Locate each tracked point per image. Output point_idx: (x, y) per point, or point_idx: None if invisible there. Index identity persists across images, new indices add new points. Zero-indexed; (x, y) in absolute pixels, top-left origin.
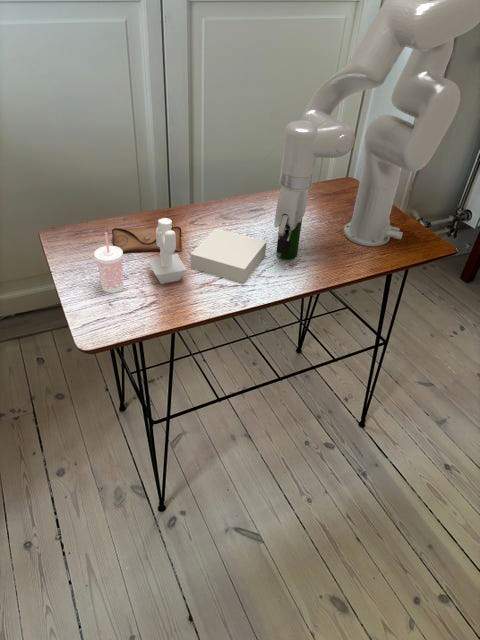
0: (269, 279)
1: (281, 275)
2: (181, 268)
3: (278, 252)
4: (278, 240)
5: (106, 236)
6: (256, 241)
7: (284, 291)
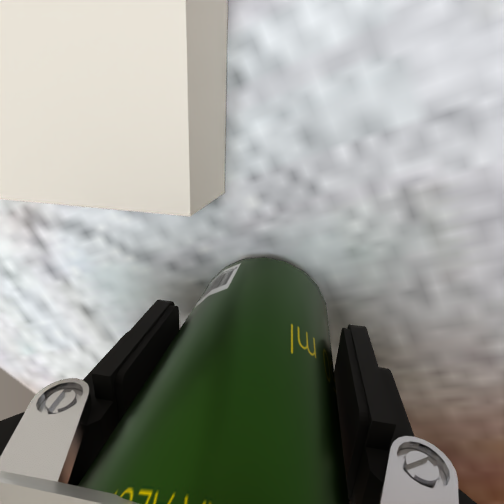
0: (38, 274)
1: (97, 315)
2: None
3: (206, 290)
4: (109, 357)
5: None
6: (147, 129)
7: (9, 345)
